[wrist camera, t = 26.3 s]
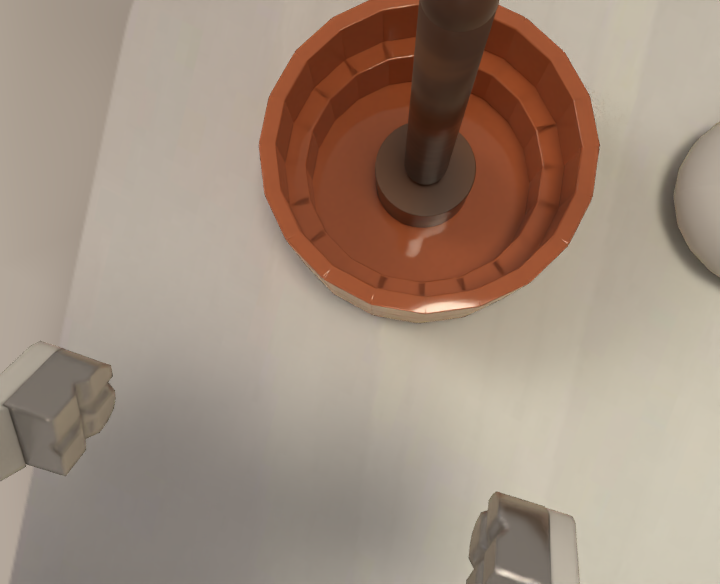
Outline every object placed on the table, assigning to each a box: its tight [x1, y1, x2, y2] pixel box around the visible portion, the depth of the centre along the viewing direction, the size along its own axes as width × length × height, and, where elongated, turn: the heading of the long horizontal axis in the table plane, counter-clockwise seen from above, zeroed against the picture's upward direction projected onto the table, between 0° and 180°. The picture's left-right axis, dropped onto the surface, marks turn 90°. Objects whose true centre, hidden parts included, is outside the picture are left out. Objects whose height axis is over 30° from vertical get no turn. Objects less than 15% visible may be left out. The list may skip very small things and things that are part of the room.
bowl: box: [259, 0, 600, 323], centre depth 29 cm, size 16×16×6 cm
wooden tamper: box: [375, 0, 499, 228], centre depth 23 cm, size 5×5×17 cm
